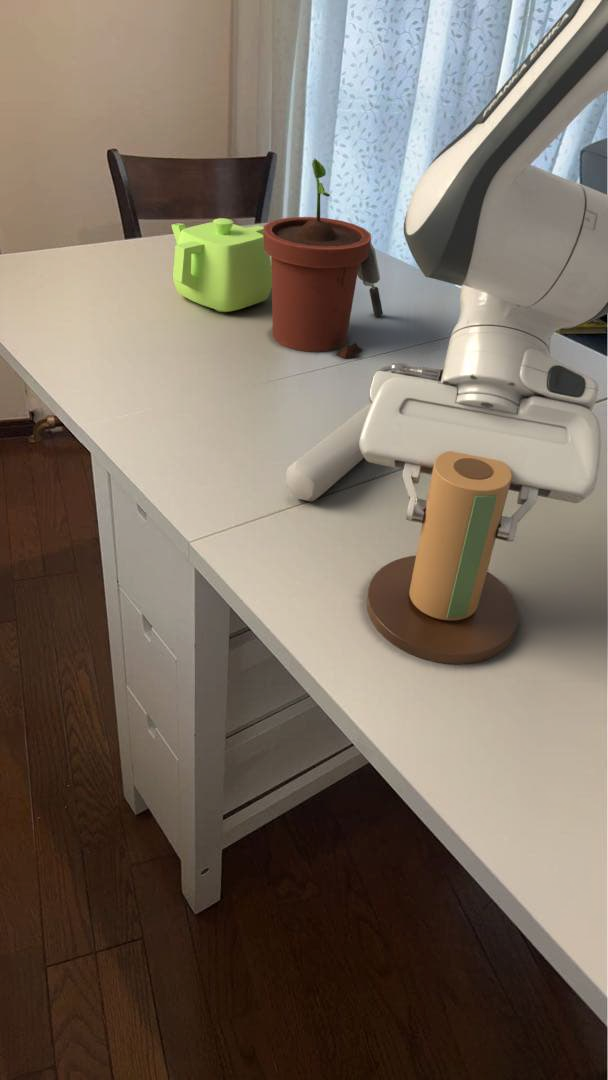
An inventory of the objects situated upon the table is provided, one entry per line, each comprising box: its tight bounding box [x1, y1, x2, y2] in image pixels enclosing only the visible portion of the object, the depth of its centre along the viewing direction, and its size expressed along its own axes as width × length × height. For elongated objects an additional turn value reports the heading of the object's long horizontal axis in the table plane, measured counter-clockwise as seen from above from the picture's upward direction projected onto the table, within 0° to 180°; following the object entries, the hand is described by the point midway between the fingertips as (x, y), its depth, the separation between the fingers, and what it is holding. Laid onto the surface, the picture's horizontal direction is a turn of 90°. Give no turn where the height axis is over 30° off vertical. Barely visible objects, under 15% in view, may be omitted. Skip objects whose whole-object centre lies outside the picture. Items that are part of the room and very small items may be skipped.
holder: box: [366, 555, 520, 665], centre depth 75 cm, size 14×14×2 cm
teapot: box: [171, 217, 272, 313], centre depth 132 cm, size 18×20×13 cm
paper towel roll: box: [409, 451, 512, 621], centre depth 70 cm, size 6×7×14 cm
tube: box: [285, 402, 372, 503], centre depth 95 cm, size 5×5×25 cm
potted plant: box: [263, 157, 384, 359], centre depth 119 cm, size 18×22×25 cm
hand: (459, 530), depth 68 cm, fingers closed on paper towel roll, 6 cm apart
